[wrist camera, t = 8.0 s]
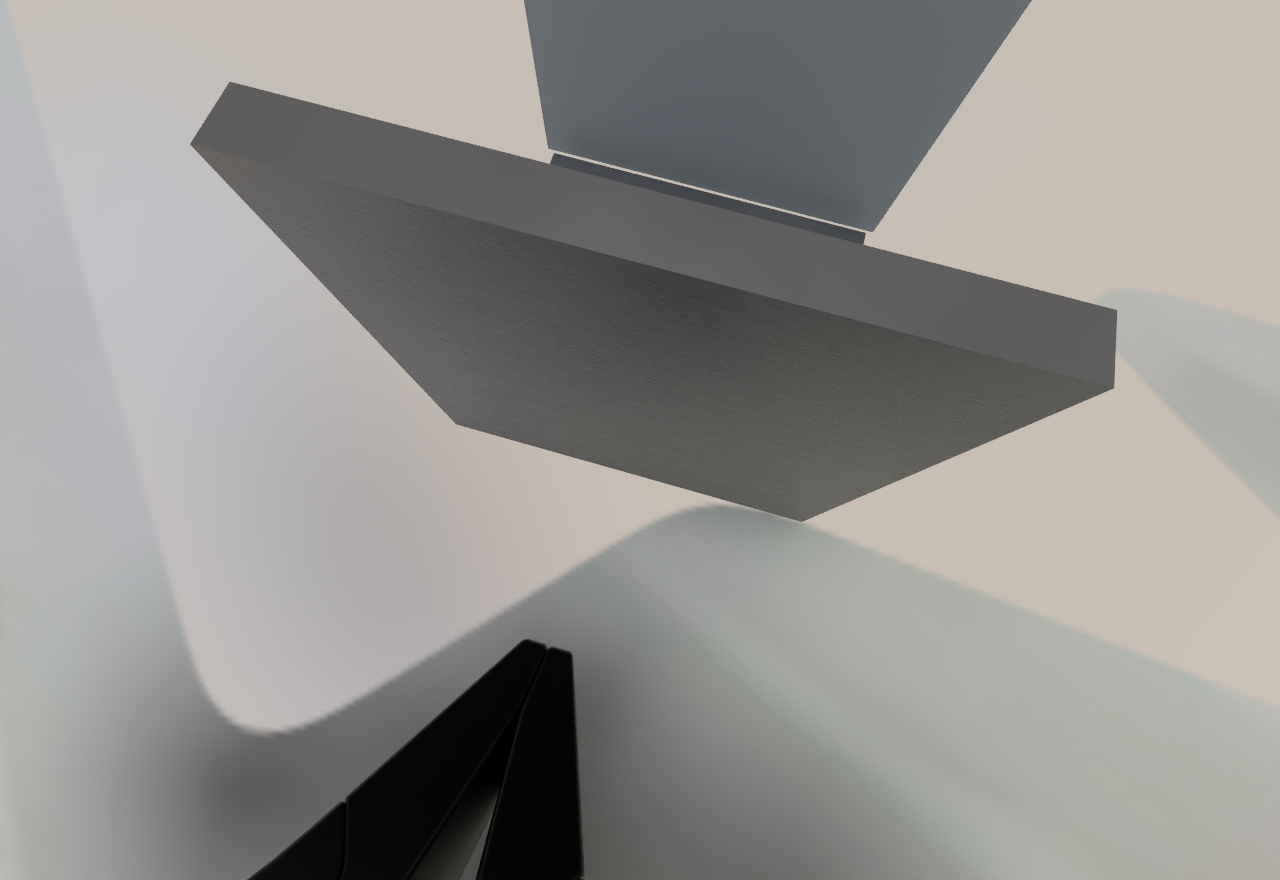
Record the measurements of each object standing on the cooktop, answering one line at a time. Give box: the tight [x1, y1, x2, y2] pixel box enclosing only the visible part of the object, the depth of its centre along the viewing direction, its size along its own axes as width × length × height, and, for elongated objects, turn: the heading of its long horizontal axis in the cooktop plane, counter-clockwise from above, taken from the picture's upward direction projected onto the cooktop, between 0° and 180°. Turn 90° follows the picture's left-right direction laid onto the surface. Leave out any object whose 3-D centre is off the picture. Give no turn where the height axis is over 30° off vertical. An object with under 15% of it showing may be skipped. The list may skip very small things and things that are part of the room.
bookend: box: [190, 82, 1117, 522], centre depth 13 cm, size 10×11×11 cm
